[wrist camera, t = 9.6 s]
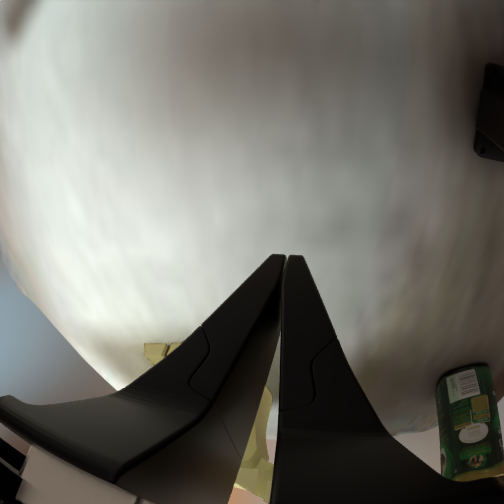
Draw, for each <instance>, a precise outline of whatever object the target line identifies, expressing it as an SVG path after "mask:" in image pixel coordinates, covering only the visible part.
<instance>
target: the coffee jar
mask: <svg viewBox="0 0 504 504" xmlns="http://www.w3.org/2000/svg"><path fill="white" fill-rule="evenodd" d="M436 405H437V415H438V424H439V434H440V454H441V475H442V476H444V477H446V478H448V479H451V480H455V481H471V480H476V479H481V478H486V477H499V478H500V479H501V480H502V481H503V482H504V450H503V442H502V434H501V427H500V420H499V413H498V407H497V401H496V395H495V390H494V384H493V379H492V375H491V371H490V369H489V368H488V367H485V366H470V367H465V368H462V369H458V370H457V371H455V372H453V373H451V374H449V375H447V376H445V377H443V378H442V379H441V381H440V382H439V384H438V387H437V391H436Z"/></svg>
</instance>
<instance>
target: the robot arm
mask: <svg viewBox="0 0 504 504" xmlns="http://www.w3.org/2000/svg"><path fill="white" fill-rule="evenodd" d="M492 68H494V69H495V72H494V73H493V74H492V72H491V69H492ZM476 127H477V134H476V140H475V145H474V151H475V153H476V154H477V155H478V156H480V157H483V158H487V159H492V160H496V161H501V162H504V67H503V66H500V65H497V64H494V63H488V64H487V65H486V67H485V77H484V86H483V90H482V91H481V95H480V103H479V110H478V117H477V123H476ZM481 147H483V150H482V151H481V152H479V149H480V148H481ZM201 326H202V327H201ZM201 326H199V327H198V328H197V329H196V330H195V331H194V332H193V333H192V334H191V335H190V336H189V337H188V338H187V339H185V340H184V341H183V342H182V343H181V344H180V345H179V346H178V347H177V348H175V349H174V350H173V351H172V352H171V353H169V354H168V355H167V356H166V357H164V358H163V359H162V360H161V361H159V362H158V363H157V364H155V365H154V366H153V367H152V368H150V369H149V370H148V371H146V372H145V373H144V374H142V375H141V376H140V377H139V378H137V379H136V380H135V381H133V382H132V383H131V384H129V385H128V386H126V387H125V388H123V389H121V390H119V391H117V392H115V393H112V394H109V395H105V396H100V397H94V398H88V399H82V400H76V401H69V402H63V403H56V404H48V405H32V404H27V403H24V402H22V401H20V400H19V399H17V398H15V397H13V396H11V395H6V396H2V397H0V423H2V424H3V425H4V426H6V427H7V428H8V429H10V430H11V431H12V432H14V433H15V434H16V435H18V436H19V437H21V438H22V439H24V440H25V441H26V442H28V443H29V444H31V447H30V449H29V451H28V454H27V456H26V455H25V454H23V453H22V452H20V451H19V450H17V449H16V448H15V447H13V446H12V445H10V444H9V443H8V442H6V441H5V440H3V439H2V438H0V504H228V501H229V498H230V495H231V492H232V489H233V486H234V484H235V481H236V478H237V475H238V472H239V469H240V466H241V463H242V461H241V460H242V459H243V456H244V453H245V450H246V447H247V444H248V441H249V437H250V434H251V431H252V428H253V425H254V421H255V418H256V415H257V412H258V408H259V405H260V402H261V398H262V395H263V392H264V388H265V385H266V381H267V378H268V375H269V371H270V368H271V364H272V361H273V357H274V354H275V350H276V346H277V343H278V339H279V335H280V331H281V346H280V383H279V414H278V431H277V442H276V451H275V460H274V468H273V477H272V485H271V493H270V500H269V504H504V482H503V481H502V480H501V479H500V478H499V477H486V478H481V479H476V480H471V481H455V480H451V479H448V478H446V477H444V476H442V475H440V474H439V473H437V472H436V471H435V470H433V469H432V468H431V467H430V466H428V465H427V464H426V463H424V462H423V461H422V460H421V459H419V458H418V457H417V456H416V455H414V454H413V453H412V452H411V451H409V450H408V449H407V448H405V447H404V446H403V445H402V444H400V443H399V442H398V441H397V440H395V438H393V437H392V436H391V435H390V434H389V432H388V431H387V430H386V428H385V427H384V426H383V424H382V423H381V421H380V419H379V418H378V416H377V414H376V412H375V411H374V409H373V407H372V405H371V404H370V402H369V400H368V398H367V397H366V395H365V393H364V391H363V390H362V388H361V386H360V384H359V383H358V381H357V379H356V377H355V375H354V373H353V371H352V369H351V368H350V366H349V364H348V361H347V359H346V357H345V354H344V352H343V350H342V347H341V345H340V342H339V340H338V339H337V335H336V333H335V330H334V328H333V325H332V323H331V320H330V318H329V316H328V313H327V311H326V308H325V306H324V303H323V301H322V299H321V296H320V294H319V291H318V289H317V287H316V284H315V282H314V280H313V277H312V275H311V273H310V270H309V268H308V266H307V263H306V261H305V259H304V257H303V256H302V255H289V257H288V260H287V257H286V255H284V254H272V255H270V256H269V257H268V258H267V259H266V260H265V261H264V262H263V263H262V264H261V265H260V266H259V267H258V268H257V269H256V270H255V271H254V272H253V273H252V274H251V275H250V276H249V277H248V278H247V279H246V280H245V281H244V282H243V283H242V284H241V285H240V286H239V287H238V288H237V289H236V290H235V291H234V292H233V293H232V294H231V295H230V296H229V297H228V298H227V299H226V300H225V301H224V302H223V303H222V304H221V305H220V306H219V307H218V308H217V309H216V310H215V311H214V312H213V313H212V314H211V315H210V316H209V317H208V318H207V319H206V320H205V321H204V322H203V323H202V324H201Z"/></svg>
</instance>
